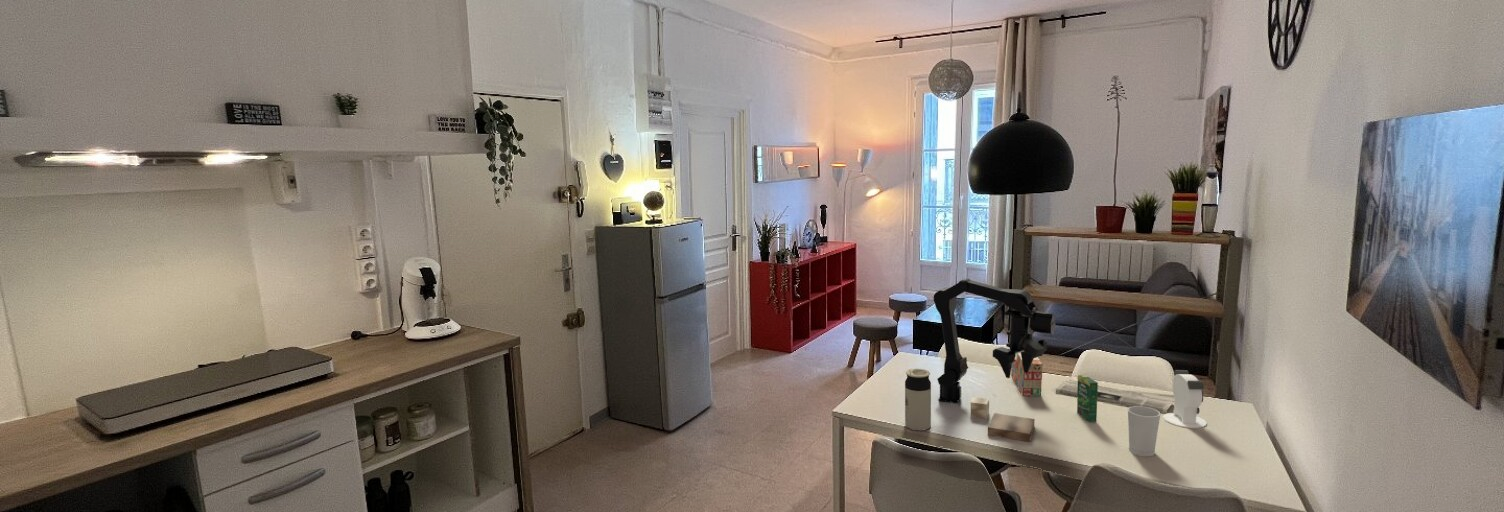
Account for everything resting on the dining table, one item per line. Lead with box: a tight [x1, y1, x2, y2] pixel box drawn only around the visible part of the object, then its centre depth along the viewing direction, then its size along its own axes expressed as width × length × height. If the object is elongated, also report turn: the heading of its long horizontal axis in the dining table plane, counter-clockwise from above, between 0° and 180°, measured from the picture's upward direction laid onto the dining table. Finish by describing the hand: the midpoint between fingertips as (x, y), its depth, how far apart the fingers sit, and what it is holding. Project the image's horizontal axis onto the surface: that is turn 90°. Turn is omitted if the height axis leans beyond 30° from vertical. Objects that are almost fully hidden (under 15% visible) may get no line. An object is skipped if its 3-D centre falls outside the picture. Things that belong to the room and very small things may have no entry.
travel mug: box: [904, 368, 932, 431], centre depth 210 cm, size 8×8×18 cm
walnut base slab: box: [987, 412, 1035, 443], centre depth 205 cm, size 12×12×2 cm
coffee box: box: [1076, 374, 1099, 423], centre depth 212 cm, size 8×3×13 cm, turn 0°
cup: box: [1127, 406, 1161, 457], centre depth 187 cm, size 8×8×12 cm
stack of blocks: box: [1010, 352, 1043, 397], centre depth 242 cm, size 21×6×12 cm, turn 170°
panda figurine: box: [1162, 369, 1207, 429], centre depth 206 cm, size 12×11×15 cm
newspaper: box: [1055, 379, 1175, 414], centre depth 228 cm, size 35×12×4 cm, turn 50°
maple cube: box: [970, 396, 990, 420], centre depth 218 cm, size 5×5×5 cm
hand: (1017, 375), depth 217 cm, fingers open, 9 cm apart
